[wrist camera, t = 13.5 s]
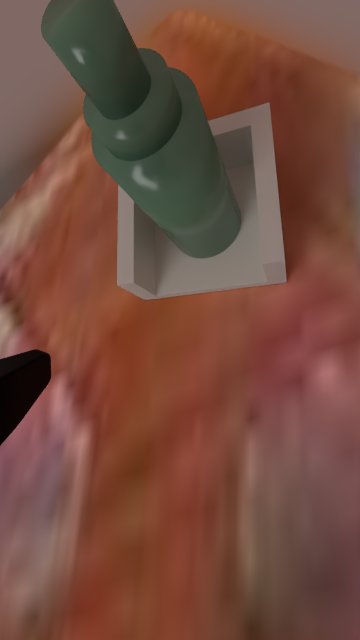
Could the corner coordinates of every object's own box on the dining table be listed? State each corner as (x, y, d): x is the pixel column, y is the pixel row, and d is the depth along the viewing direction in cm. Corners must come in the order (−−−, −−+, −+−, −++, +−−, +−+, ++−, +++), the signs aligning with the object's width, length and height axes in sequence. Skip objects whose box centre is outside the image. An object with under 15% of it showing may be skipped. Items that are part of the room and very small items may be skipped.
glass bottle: (207, 272, 22) (67, 112, 9) (159, 233, 24) (-16, 55, 11) (256, 213, 22) (186, -52, 8) (203, 179, 24) (76, -81, 10)
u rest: (286, 282, 21) (285, 260, 17) (144, 300, 24) (117, 285, 20) (273, 148, 23) (269, 102, 19) (144, 181, 26) (118, 148, 22)
